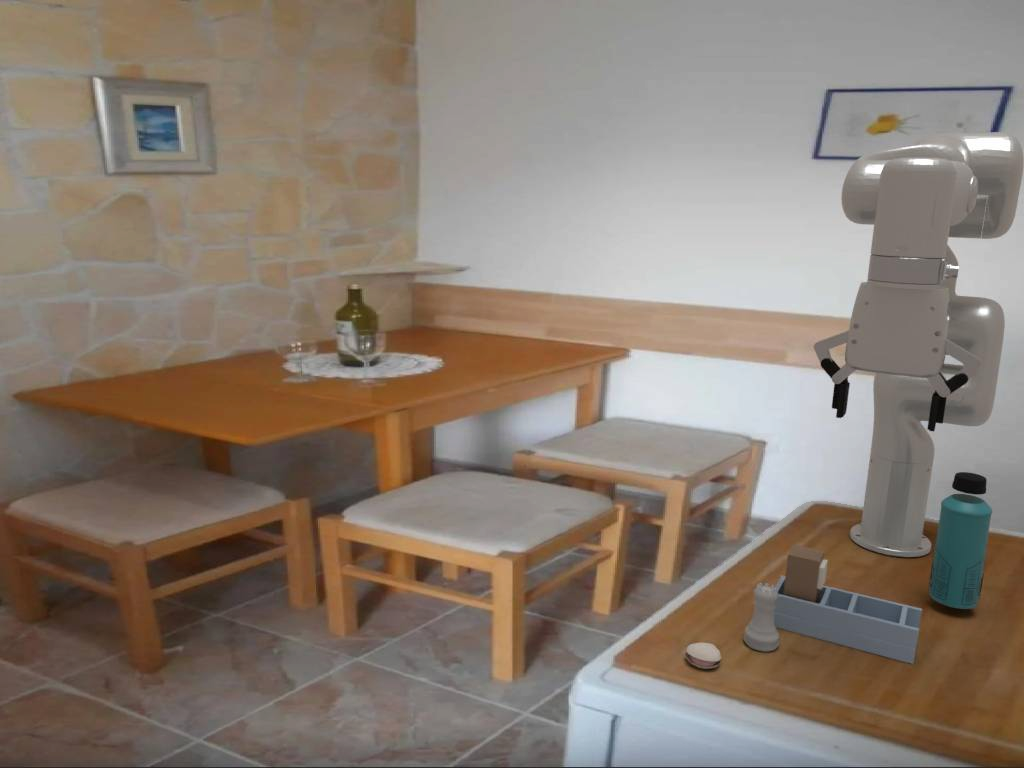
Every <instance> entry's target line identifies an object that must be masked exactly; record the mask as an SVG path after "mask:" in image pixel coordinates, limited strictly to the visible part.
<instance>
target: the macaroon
mask: <svg viewBox="0 0 1024 768" xmlns="http://www.w3.org/2000/svg"><path fill="white" fill-rule="evenodd" d="M685 657H686V659H687V661H688V662H689V663H690V664H691V665H692V666H695V667H696V668H698V669H703V670H709V669H714V668H717V667H718V666H719V665H720V663H721V661H722V655H721V651H720V650H719V649H718V648H717V647H716V646H715V644H712V643H710V642H709V643H708V642H695V643H691V644H689V645H688V646H687V647H686V649H685Z"/></svg>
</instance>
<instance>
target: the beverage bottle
mask: <svg viewBox="0 0 1024 768" xmlns="http://www.w3.org/2000/svg"><path fill="white" fill-rule="evenodd" d="M951 487H952V489H953V490H954V491H955V490H956V491H957V492H960V493H954V494H950V495H949V496H947V497H945V498H944V499H942V500H941V504H940V505H941V506H940V514H939V520H938V527H937V532H936V538H935V545H934V546H933V548H934V550H933V554H932V557H933V558H931V559H932V562H931V563H932V564H931V569H930V576H929V581H928V585H929V588H928V592H929V596H930V598H931V599H932V600H934V601H935V602H937V603H939V604H941V605H943V606H946V607H950V608H955V609H961V610H969V609H973V608H975V607H977V605H978V603H979V601H980V600H981V597H980V596H981V593H982V588H983V579H984V571H985V567H986V562H987V560H986V558H987V551H988V539H989V532H990V531H989V530H990V525H991V520H992V519H991V517H992V514H993V508H992V507H991V506H990V505H989V504H988V502H986V501H985V500H984V499H982V498H981V497H978V496H979V495H980V496H981V495H984V494H986V493H987V478H986V477H985V476H983V475H981V474H977V473H973V472H968V471H967V472H966V471H965V472H964V471H961V472H959V471H958V472H955V474H954V477H953V481H952V484H951ZM975 495H978V496H975Z"/></svg>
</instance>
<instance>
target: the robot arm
mask: <svg viewBox="0 0 1024 768" xmlns="http://www.w3.org/2000/svg"><path fill="white" fill-rule="evenodd" d="M1023 172H1024V153H1023V148H1022V145H1021V143H1020V142H1019V139H1018V138H1017V137H1016V136H1014V135H1013V134H1011V133H1009V132H1002V131H1001V132H999V131H993V132H988V131H987V132H985V131H984V132H941V133H933V134H929V135H928V136H924V137H922V138H921V139H919V141H917V142H915V143H914V144H912V145H907V146H902V147H899V148H893V149H887V150H879V151H874V152H869V153H866V154H864V155H861V156H860V157H859V158H857V159H856V160H855V161H854V162H853V164H851V166H850V168H849V170H848V172H847V174H846V176H845V178H844V180H843V181H844V182H843V184H842V189H841V199H840V200H841V206H842V211H843V213H844V215H845V217H846V218H847V219H848V220H849V221H850V222H852V223H854V224H857V225H858V224H859V225H872V226H873V230H872V231H873V232H872V240H871V247H870V256H869V264H868V271H867V272H868V273H867V279H866V280H867V281H862V282H860V285H859V287H858V289H857V290H858V291H857V293H856V297H855V301H854V303H853V309H852V312H851V317H850V323H849V326H848V327H849V328H848V330H846V331H842V332H840V333H837V334H835V335H832V336H829V337H827V338H823V339H821V340H818V341H816V342H815V343H814V345H813V350H814V351H815V354H816V356H817V359H818V360H819V363H820V367H821V369H823V370H824V372H825V373H826V374H827V375H828V376H829V377H830V379H831V381H832V383H834V385H833V394H832V404H831V409H832V410H833V409H834V410H836V415H835V418H836V419H837V418H838V419H842V418H844V416H845V415H846V414H847V410H848V402H849V401H848V399H849V391H850V385H851V383H850V382H849V380H848V379H849V377H850V375H852V374H853V373H854V372H855V371H856V370H857V371H862V372H866V373H867V372H869V373H875V374H874V379H873V388H872V389H873V427H872V428H873V429H872V437H871V444H870V445H871V447H870V455H869V463H868V469H867V470H868V471H867V479H866V483H865V484H866V485H865V493H864V500H863V508H862V516H861V522H860V523H858V524H857V523H856V524H855V525H853V526H852V527H851V528H850V531H849V536H850V539H851V540H852V541H853V542H854V543H855V544H857V545H858V546H860V547H861V548H862V547H863V548H864V549H866V550H869V551H871V552H874V553H875V552H876V553H878V554H881V555H887V556H892V557H901V558H915V557H922V556H925V555H927V554H929V553H930V552H931V550H932V542H931V540H930V539H929V538H928V537H927V536H925V535H924V525H925V520H926V513H927V507H928V499H929V493H930V486H931V479H932V473H933V472H932V471H933V466H934V459H935V445H934V441H933V439H932V437H931V435H930V434H929V432H935V429H936V427H937V426H936V425H937V424H947V425H956V426H962V427H980V426H983V425H985V424H986V423H987V422H988V421H989V419H990V417H991V415H992V412H993V408H994V404H995V398H996V391H997V385H998V379H999V371H1000V364H1001V357H1002V352H1003V351H1002V350H1003V343H1004V337H1005V336H1004V335H1005V323H1006V322H1005V320H1006V319H1005V314H1004V313H1005V312H1004V310H1003V308H1002V306H1001V304H1000V303H999V302H997V301H996V300H994V299H990V298H987V297H981V296H979V297H978V296H967V295H966V296H965V295H958V294H957V293H956V287H957V281H958V280H957V279H958V275H959V268H960V265H959V261H958V259H957V257H956V255H955V253H954V252H953V250H952V249H951V247H950V246H949V244H948V243H949V242H948V240H949V238H958V239H959V238H963V239H979V240H980V239H981V240H983V239H984V240H991V239H998V238H1000V237H1002V236H1004V235H1006V234H1007V233H1008V232H1009V230H1010V229H1011V227H1012V225H1013V223H1014V220H1015V218H1016V213H1017V209H1018V207H1017V206H1018V203H1019V202H1018V201H1019V196H1020V191H1021V185H1022V180H1023V179H1022V178H1023V175H1024V174H1023ZM844 344H845V353H844V361H845V364H844V365H843V366H841V367H840V366H839V365H838V364H837V363H836V361H835V360H834V359H833V358H832V356H831V353H830V350H831V349H834V348H835V347H839V346H841V345H844ZM946 356H950V357H951V358H953V359H954V360H957V361H958V362H960V363H962V365H961V364H955V363H954V364H951V363H945V359H946ZM922 422H928V423H927V429H926V427H924V425H923V424H922ZM936 423H937V424H936ZM927 430H928V431H929V432H928V431H927Z"/></svg>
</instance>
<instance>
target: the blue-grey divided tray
mask: <svg viewBox="0 0 1024 768" xmlns="http://www.w3.org/2000/svg"><path fill="white" fill-rule="evenodd" d="M825 552H826V551H824V550H821V549H816V548H812V547H807V546H803V545H799V544H798V545H797V544H793V545H792V547H791V549H790V551H789V552H788V553H787V561H786V569H785V575H779V579H778V581H777V583H776V584H775V588H777V592H778V594H779V598H778V599H777V600H776V601H775V605H776V608H775V609H774V624H775V627H776V629H777V628H778V629H781V630H785V631H788V632H791V633H796V634H799V635H803V636H807V637H811V638H815V639H819V640H822V641H825V642H829V643H833V644H836V645H837V644H838V645H841V646H844V647H847V648H848V647H849V648H852V649H855V650H858V651H862V652H866V653H870V654H875V655H877V656H882V657H885V658H889V659H893V660H897V661H899V662H904V663H908V664H912V665H914V664H915V657H916V651H917V643H918V639H919V632H920V625H921V619H922V612H923V608H921V607H916V606H911V605H908V604H904V603H903V604H902V603H899V602H894V601H892V600H891V601H890V600H886V599H883V598H878V597H873V596H871V595H865V594H861V593H858V592H854V591H849V590H844V589H841V588H836V587H831V586H828V585H824V584H825V583H826V578H827V577H826V576H827V570H828V569H827V568H828V559H825Z"/></svg>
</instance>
